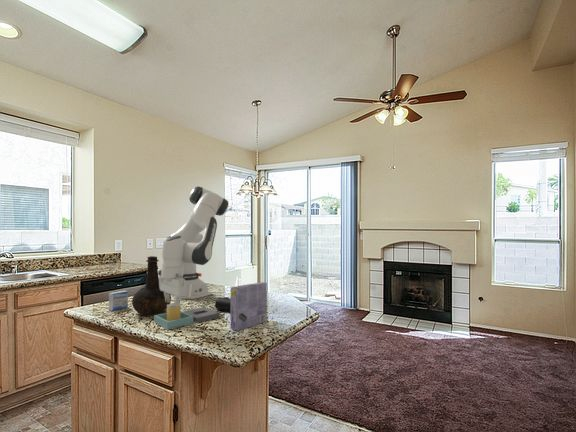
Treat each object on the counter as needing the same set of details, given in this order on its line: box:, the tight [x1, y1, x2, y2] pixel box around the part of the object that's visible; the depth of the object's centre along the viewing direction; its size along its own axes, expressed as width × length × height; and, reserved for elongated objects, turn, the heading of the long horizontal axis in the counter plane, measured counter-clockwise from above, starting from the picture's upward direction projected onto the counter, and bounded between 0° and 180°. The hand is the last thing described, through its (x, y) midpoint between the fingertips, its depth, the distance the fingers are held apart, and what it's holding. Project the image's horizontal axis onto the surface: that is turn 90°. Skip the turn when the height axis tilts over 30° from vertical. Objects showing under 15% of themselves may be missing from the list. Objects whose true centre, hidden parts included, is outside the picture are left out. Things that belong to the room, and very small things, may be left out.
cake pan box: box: [230, 281, 268, 332], centre depth 137 cm, size 19×5×18 cm, turn 141°
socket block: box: [182, 306, 220, 324], centre depth 147 cm, size 12×14×2 cm
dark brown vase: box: [131, 255, 172, 316], centre depth 155 cm, size 18×18×28 cm
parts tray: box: [153, 310, 194, 330], centre depth 138 cm, size 12×14×4 cm
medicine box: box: [108, 290, 129, 312], centre depth 163 cm, size 8×4×9 cm, turn 143°
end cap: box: [214, 296, 231, 313], centre depth 158 cm, size 10×7×7 cm
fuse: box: [166, 303, 181, 321], centre depth 138 cm, size 5×3×8 cm, turn 135°
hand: (172, 304), depth 138 cm, fingers open, 8 cm apart
